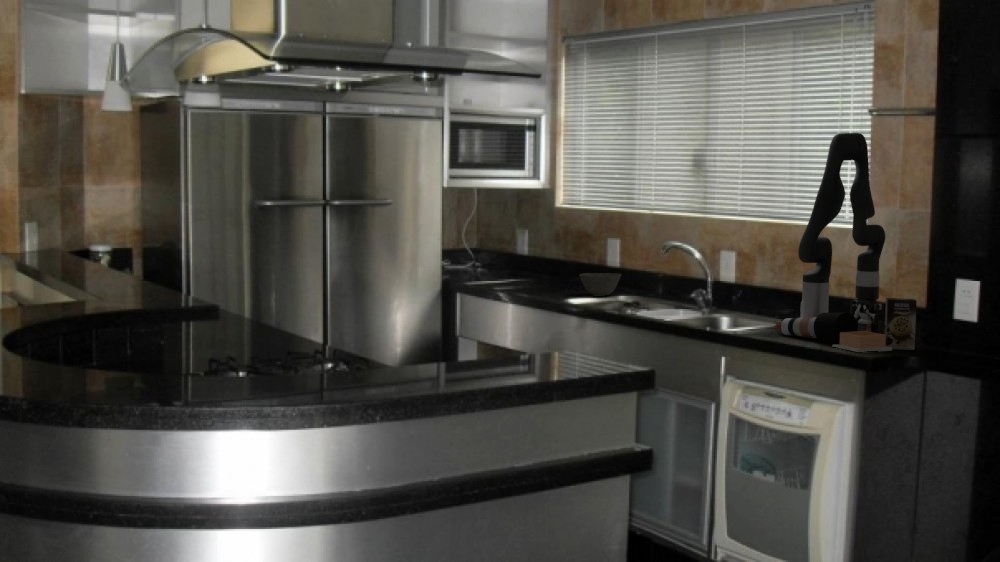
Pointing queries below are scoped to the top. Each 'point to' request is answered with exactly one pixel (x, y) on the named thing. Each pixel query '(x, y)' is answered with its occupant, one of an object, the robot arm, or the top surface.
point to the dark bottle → (820, 326)
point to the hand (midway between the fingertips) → (865, 332)
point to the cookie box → (900, 323)
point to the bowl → (600, 282)
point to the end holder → (862, 341)
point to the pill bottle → (864, 323)
